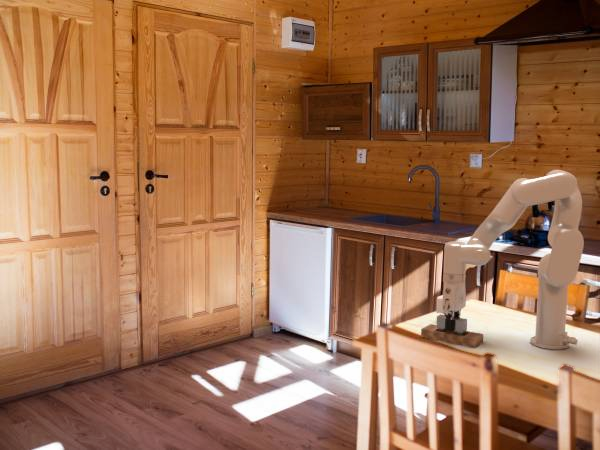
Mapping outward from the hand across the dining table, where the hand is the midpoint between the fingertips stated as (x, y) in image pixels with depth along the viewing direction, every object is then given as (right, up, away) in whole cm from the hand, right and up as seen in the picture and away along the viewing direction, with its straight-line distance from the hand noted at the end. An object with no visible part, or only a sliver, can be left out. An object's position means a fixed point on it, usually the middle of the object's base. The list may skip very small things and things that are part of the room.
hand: (452, 328), depth 242 cm
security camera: (+3, -1, +22) cm, 22 cm away
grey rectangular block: (0, -4, +1) cm, 4 cm away
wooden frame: (0, -4, +1) cm, 4 cm away
